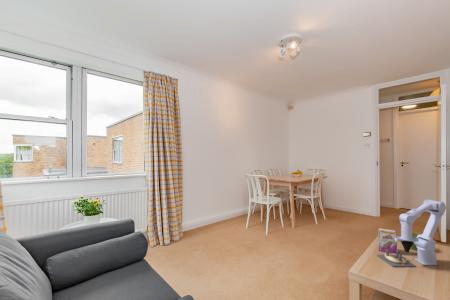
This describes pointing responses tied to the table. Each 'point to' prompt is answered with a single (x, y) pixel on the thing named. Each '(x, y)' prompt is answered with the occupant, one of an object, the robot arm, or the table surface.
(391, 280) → the table surface
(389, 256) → the capstan wheel
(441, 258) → the table surface
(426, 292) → the table surface
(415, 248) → the plant pot
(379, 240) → the candy bar box
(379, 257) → the stand
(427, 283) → the table surface
